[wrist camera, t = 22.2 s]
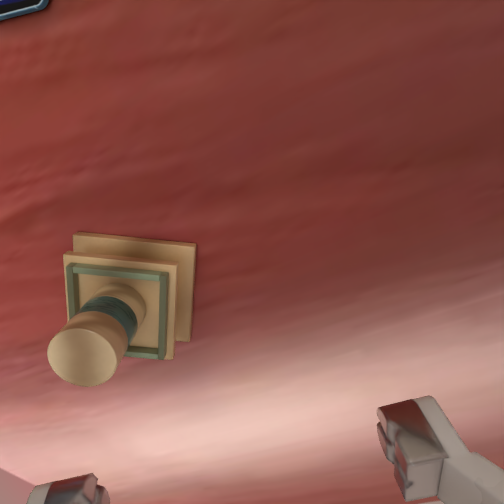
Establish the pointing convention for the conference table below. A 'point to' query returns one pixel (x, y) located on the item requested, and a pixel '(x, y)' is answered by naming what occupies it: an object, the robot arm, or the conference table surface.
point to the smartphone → (20, 7)
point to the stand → (137, 284)
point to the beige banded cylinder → (97, 336)
